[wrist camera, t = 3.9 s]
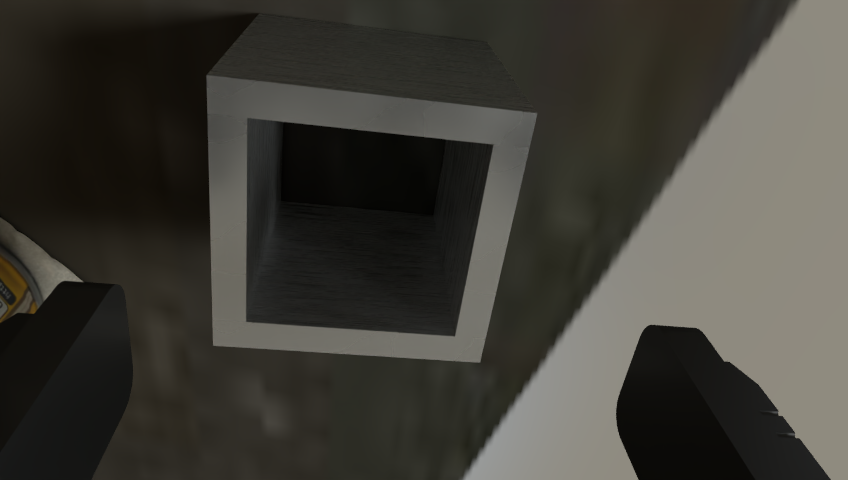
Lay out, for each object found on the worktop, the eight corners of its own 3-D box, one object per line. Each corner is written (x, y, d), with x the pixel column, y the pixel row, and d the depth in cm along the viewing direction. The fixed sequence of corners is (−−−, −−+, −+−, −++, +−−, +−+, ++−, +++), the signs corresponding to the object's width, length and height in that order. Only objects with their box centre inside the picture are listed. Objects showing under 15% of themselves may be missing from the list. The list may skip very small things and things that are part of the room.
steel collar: (256, 219, 19) (213, 345, 14) (259, 13, 16) (206, 75, 11) (452, 237, 20) (480, 362, 15) (487, 42, 17) (537, 113, 12)
